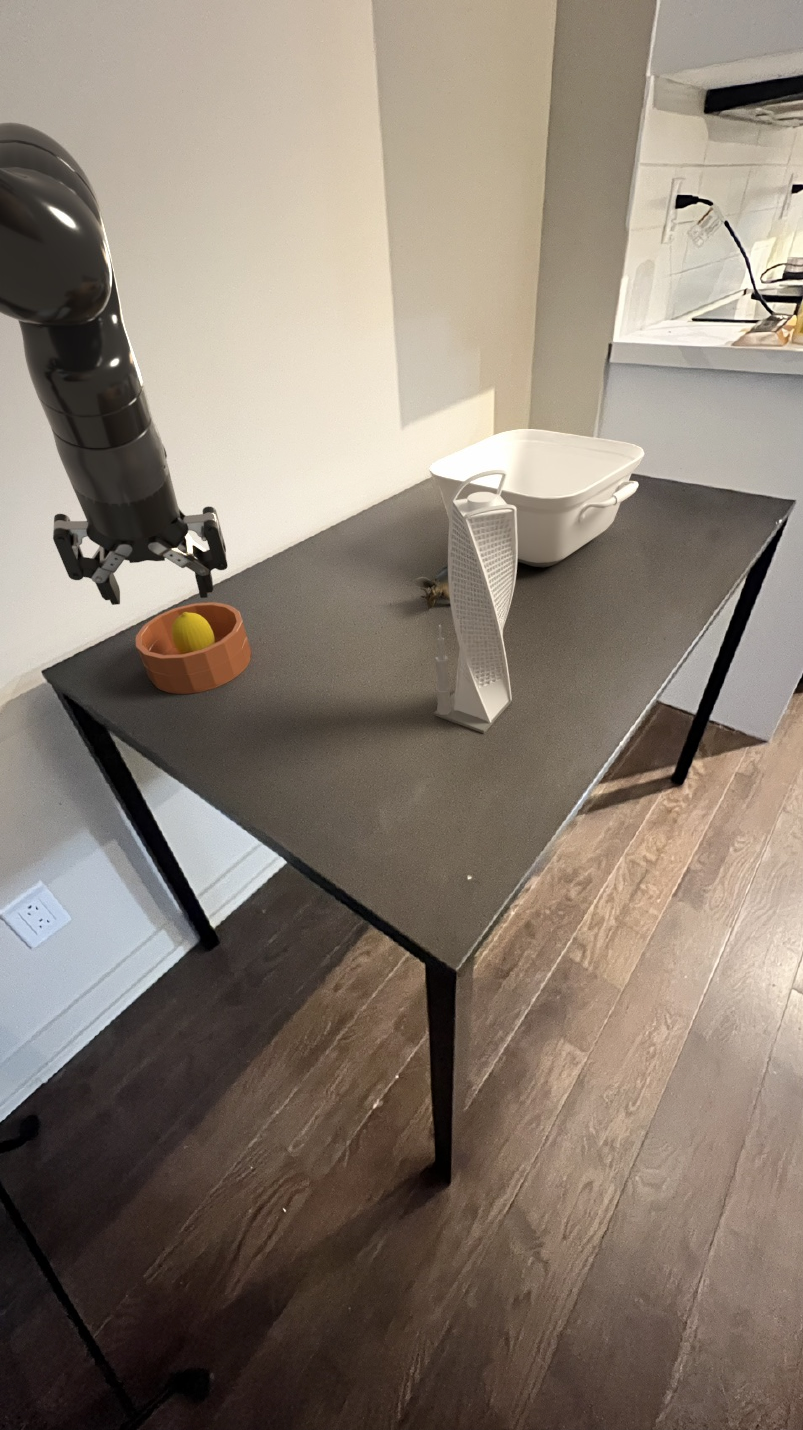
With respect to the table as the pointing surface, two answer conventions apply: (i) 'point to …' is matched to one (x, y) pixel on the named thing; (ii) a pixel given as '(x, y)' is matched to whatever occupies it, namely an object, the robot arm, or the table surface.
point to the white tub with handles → (547, 486)
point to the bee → (435, 586)
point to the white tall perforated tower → (478, 606)
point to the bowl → (197, 666)
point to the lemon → (191, 633)
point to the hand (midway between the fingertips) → (161, 594)
